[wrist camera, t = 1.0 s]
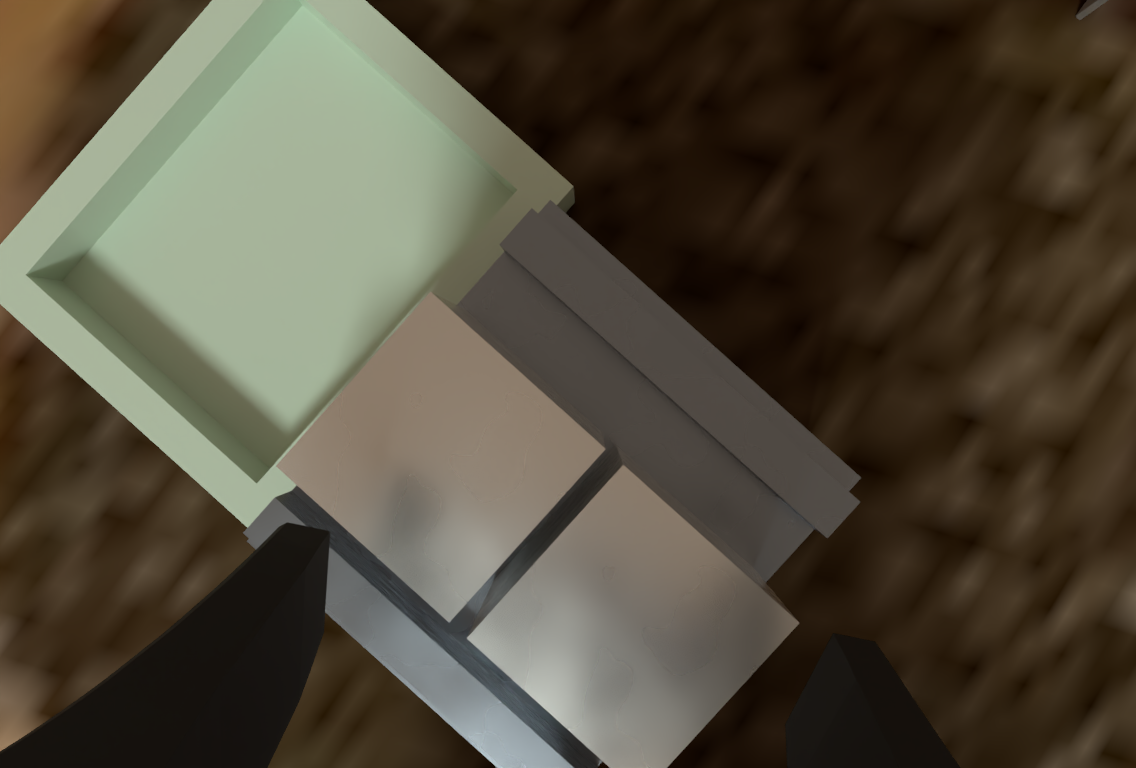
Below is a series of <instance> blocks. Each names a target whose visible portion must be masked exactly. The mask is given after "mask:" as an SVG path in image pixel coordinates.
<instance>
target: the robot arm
mask: <svg viewBox="0 0 1136 768" xmlns="http://www.w3.org/2000/svg"><path fill="white" fill-rule="evenodd" d="M329 545H330V531H328V530H323V529H318V528H313V527H308V526H303V525H298V524H293V523H289V522H287V523H285V524H283V525H281V526H279V527H278V528H277V529H276V530H275V531H274V532H273V533H272V534H271V535H270V536H269V537H268V538H267V539H266V540H265V541H264V542H263V543H262V544H261V545H260V546H259V547H258V548H257V549H256V550H255V551H254V552H253V553H252V554H251V555H250V556H249V557H248V558H247V559H246V560H245V561H244V562H243V563H242V564H241V565H240V566H239V567H238V568H236V569H235V570H234V571H233V572H232V573H231V574H230V575H229V576H228V577H227V578H226V579H225V580H224V581H222V582H221V583H220V584H219V585H218V586H217V587H216V588H215V589H214V590H213V591H212V592H210V593H209V594H208V595H207V596H206V597H205V598H204V599H202V600H201V601H200V602H199V603H198V604H197V605H196V606H194V607H193V608H192V609H191V610H190V611H189V612H187V613H186V614H185V615H184V616H183V617H182V618H181V619H179V620H178V621H177V622H176V623H175V624H174V625H173V626H171V627H170V628H169V629H168V630H167V631H165V632H164V633H163V634H162V635H161V636H159V637H158V638H157V639H156V640H154V641H153V642H152V643H151V644H149V645H148V646H147V647H146V648H144V649H143V650H142V651H140V652H139V653H138V654H137V655H135V656H134V657H133V658H132V659H130V660H129V661H128V662H127V663H125V664H124V665H123V666H122V667H120V668H119V669H118V670H116V671H115V672H114V673H113V674H111V675H110V676H109V677H108V678H106V679H105V680H104V681H102V682H101V683H100V684H98V685H97V686H95V687H94V688H93V689H91V690H90V691H89V692H87V693H86V694H85V695H83V696H82V697H80V698H79V699H78V700H76V701H75V702H73V703H72V704H71V705H69V706H68V707H66V708H65V709H64V710H62V711H61V712H59V713H58V714H56V715H55V716H53V717H52V718H50V719H49V720H48V721H46V722H45V723H43V724H42V725H40V726H39V727H37V728H36V729H34V730H33V731H31V732H30V733H28V734H27V735H25V736H24V737H22V738H21V739H19V740H18V741H16V742H15V743H13V744H11V745H10V746H8V747H7V748H5V749H4V750H2V751H0V768H267V767H268V765H269V763H270V761H271V759H272V757H273V755H274V753H275V751H276V749H277V746H278V744H279V742H280V740H281V738H282V736H283V734H284V732H285V730H286V728H287V726H288V724H289V722H290V719H291V717H292V715H293V713H294V711H295V709H296V707H297V705H298V703H299V700H300V698H301V695H302V692H303V689H304V687H305V684H306V681H307V678H308V676H309V673H310V670H311V667H312V664H313V662H314V659H315V656H316V653H317V650H318V647H319V644H320V641H321V639H322V636H323V633H324V620H325V605H326V590H327V575H328V560H329ZM785 726H786V751H787V768H960V767H959V765H958V764H957V762H956V761H955V760H954V758H953V757H952V755H951V754H950V752H949V751H948V749H947V748H946V746H945V745H944V744H943V742H942V741H941V739H940V738H939V736H938V735H937V733H936V732H935V730H934V729H933V727H932V726H931V724H930V723H929V721H928V720H927V718H926V717H925V715H924V714H923V712H922V711H921V710H920V708H919V707H918V705H917V704H916V702H915V701H914V699H913V698H912V696H911V695H910V693H909V692H908V690H907V688H906V687H905V685H904V684H903V682H902V681H901V679H900V678H899V676H898V675H897V673H896V672H895V670H894V669H893V667H892V666H891V664H890V663H889V661H888V660H887V658H886V657H885V656H884V654H883V653H882V651H881V650H880V648H879V647H878V645H877V644H876V643H875V642H874V641H869V640H864V639H859V638H854V637H850V636H845V635H840V634H835V633H833V634H832V636H831V638H830V640H829V642H828V644H827V646H826V648H825V650H824V652H823V653H822V655H821V657H820V659H819V661H818V663H817V665H816V667H815V669H814V671H813V672H812V674H811V676H810V678H809V680H808V682H807V684H806V686H805V688H804V690H803V692H802V693H801V695H800V697H799V699H798V701H797V703H796V705H795V707H794V709H793V711H792V712H791V714H790V716H789V718H788V720H787V722H786V724H785Z"/></svg>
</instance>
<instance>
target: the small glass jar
mask: <svg viewBox="0 0 1136 768" xmlns="http://www.w3.org/2000/svg"><path fill="white" fill-rule="evenodd" d="M1106 1H1108V0H1087V1H1086V2H1085V4H1084V5H1083V6H1082V8H1081V9H1080V10H1079V12H1078V13H1077V15H1076V16H1075V17H1076V18H1078V19H1079V20H1081V19H1083V18H1084V17H1085V16H1087V15H1088V14H1090V13H1091V12H1092V11H1094V10H1095V9H1097V8H1098V7H1099V6H1101V5H1102V4H1103V3H1105V2H1106Z"/></svg>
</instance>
